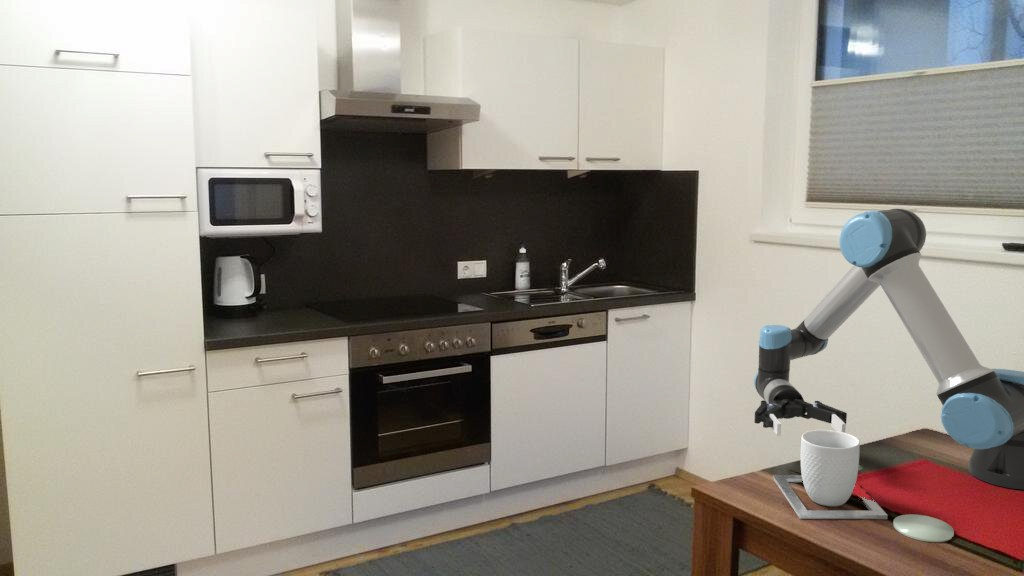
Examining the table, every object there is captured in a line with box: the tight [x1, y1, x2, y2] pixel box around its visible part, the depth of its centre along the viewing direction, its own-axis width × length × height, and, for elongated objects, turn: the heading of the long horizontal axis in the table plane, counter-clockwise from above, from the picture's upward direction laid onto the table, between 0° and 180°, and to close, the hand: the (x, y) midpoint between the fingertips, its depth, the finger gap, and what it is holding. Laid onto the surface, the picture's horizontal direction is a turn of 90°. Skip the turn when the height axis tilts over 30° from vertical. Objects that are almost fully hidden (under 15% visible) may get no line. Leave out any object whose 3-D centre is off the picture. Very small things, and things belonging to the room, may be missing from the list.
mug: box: [800, 429, 861, 507], centre depth 161 cm, size 15×11×13 cm
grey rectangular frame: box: [772, 474, 888, 520], centre depth 161 cm, size 16×20×1 cm
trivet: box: [892, 513, 955, 543], centre depth 147 cm, size 10×10×1 cm
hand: (811, 430), depth 170 cm, fingers open, 13 cm apart
